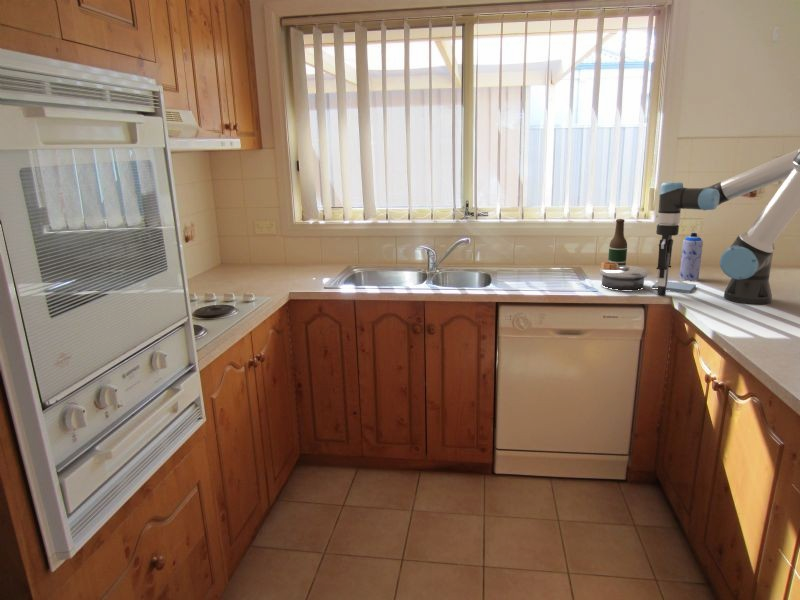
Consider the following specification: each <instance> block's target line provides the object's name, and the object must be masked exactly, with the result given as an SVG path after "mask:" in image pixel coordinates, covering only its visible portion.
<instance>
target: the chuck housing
mask: <svg viewBox="0 0 800 600" xmlns="http://www.w3.org/2000/svg"><path fill="white" fill-rule="evenodd" d="M601 276H602V277H601V286H602V285H603V286H605V287H608V288H612V289H618V290H638V289H641V288H643V289H644V287H645V284H644V283H645V278H640V279H619V278H611V277H606V276H603V275H601Z"/></svg>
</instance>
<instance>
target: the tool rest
mask: <svg viewBox="0 0 800 600" xmlns="http://www.w3.org/2000/svg"><path fill="white" fill-rule="evenodd" d="M657 282H658V281H656V282H655V283H654V284H652V285H651V289H652V288H658V286H657ZM696 285H697V284H695V283H686V282H685V283H684V282H677V281H676V282H675V281H667V285H666V290H670V291H669V292H674V291H676V293H684V294H691V293H692V292H693V291H694V288H696Z"/></svg>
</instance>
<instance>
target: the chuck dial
mask: <svg viewBox="0 0 800 600" xmlns="http://www.w3.org/2000/svg"><path fill="white" fill-rule="evenodd" d="M648 273H649V272H648V269H647V268H644V267H640V266H634V265H626V266H625V265H618V263H614V262H608V261H603V262H601V263H600V269H599V274H600V275H601V276H602V275H603V276H606V277H611V278H619V279H640V278H644V279H645V278H647V277H648Z"/></svg>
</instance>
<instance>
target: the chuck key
mask: <svg viewBox="0 0 800 600" xmlns="http://www.w3.org/2000/svg"><path fill="white" fill-rule="evenodd" d="M669 255H670V253H668V257H667V265H666V270H667V272H666V283H665V287H664V286H658V289H657V292H656V294H657V295H660V296H665V295H666V292H667V291H666V285H667V275H668V276H669V271H668V268H669V267H668V265H669Z"/></svg>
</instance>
